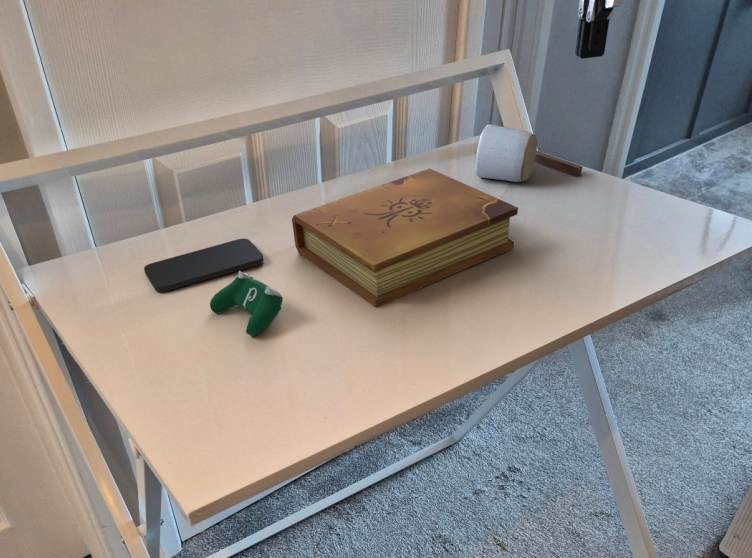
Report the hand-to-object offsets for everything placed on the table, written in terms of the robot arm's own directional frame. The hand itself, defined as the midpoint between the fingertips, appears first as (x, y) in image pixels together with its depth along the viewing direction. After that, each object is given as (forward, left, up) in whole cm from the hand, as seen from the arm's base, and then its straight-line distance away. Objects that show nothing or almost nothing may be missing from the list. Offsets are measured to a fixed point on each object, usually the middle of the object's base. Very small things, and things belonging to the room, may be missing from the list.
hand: (589, 55), depth 86 cm
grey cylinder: (+10, -12, -20) cm, 25 cm away
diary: (+20, +17, -20) cm, 33 cm away
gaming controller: (+34, +37, -20) cm, 54 cm away
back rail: (+4, -17, -20) cm, 27 cm away
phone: (+45, +27, -20) cm, 56 cm away
